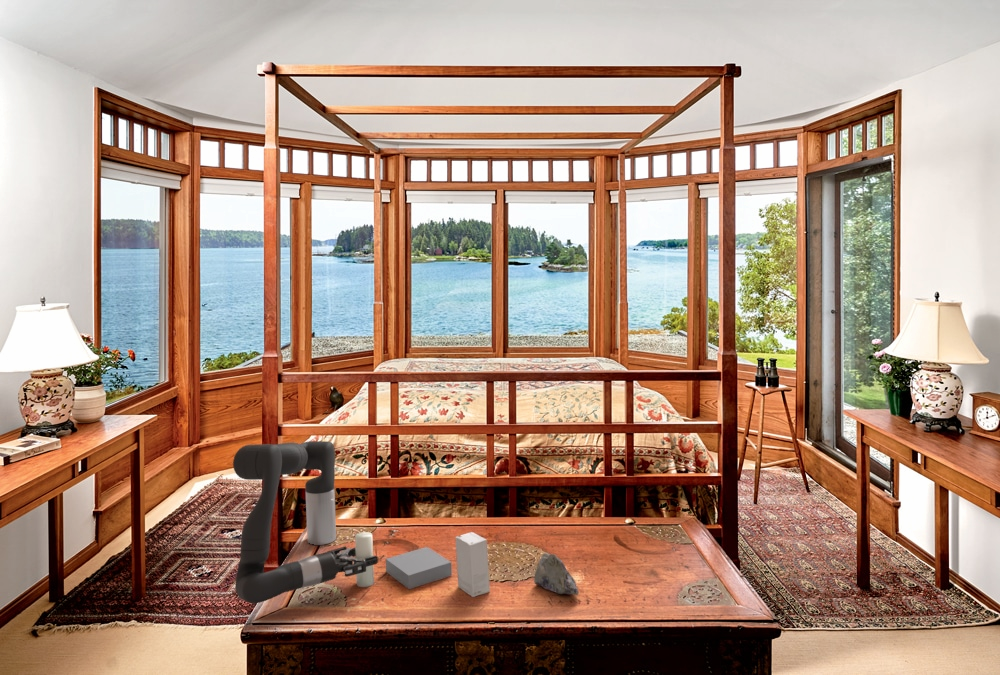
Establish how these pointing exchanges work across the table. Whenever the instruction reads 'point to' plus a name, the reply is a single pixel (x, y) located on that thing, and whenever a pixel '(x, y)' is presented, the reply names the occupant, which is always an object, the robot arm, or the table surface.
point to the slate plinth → (418, 567)
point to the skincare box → (472, 564)
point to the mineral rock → (554, 575)
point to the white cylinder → (364, 551)
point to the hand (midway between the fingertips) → (370, 554)
